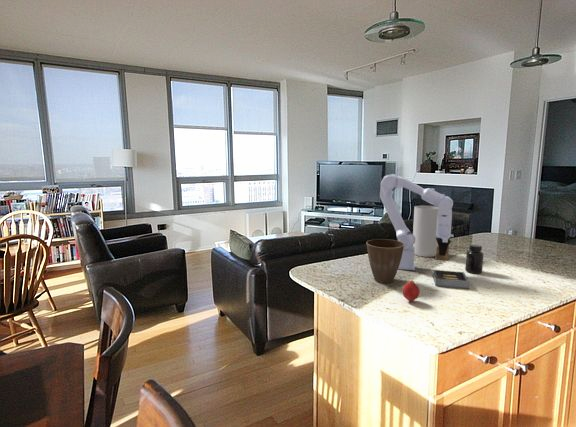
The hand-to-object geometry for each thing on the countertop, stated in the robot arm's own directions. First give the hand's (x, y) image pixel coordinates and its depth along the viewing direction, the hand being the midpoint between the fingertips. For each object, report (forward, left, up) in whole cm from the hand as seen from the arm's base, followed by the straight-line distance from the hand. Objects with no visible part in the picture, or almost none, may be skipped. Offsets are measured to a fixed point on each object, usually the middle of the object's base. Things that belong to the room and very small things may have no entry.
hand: (442, 254), depth 157 cm
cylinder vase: (-5, +30, -8) cm, 32 cm away
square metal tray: (+2, -13, -8) cm, 15 cm away
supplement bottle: (+14, +5, -8) cm, 17 cm away
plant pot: (-24, -18, -8) cm, 31 cm away
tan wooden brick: (0, 0, -2) cm, 2 cm away
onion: (-14, -38, -8) cm, 41 cm away
